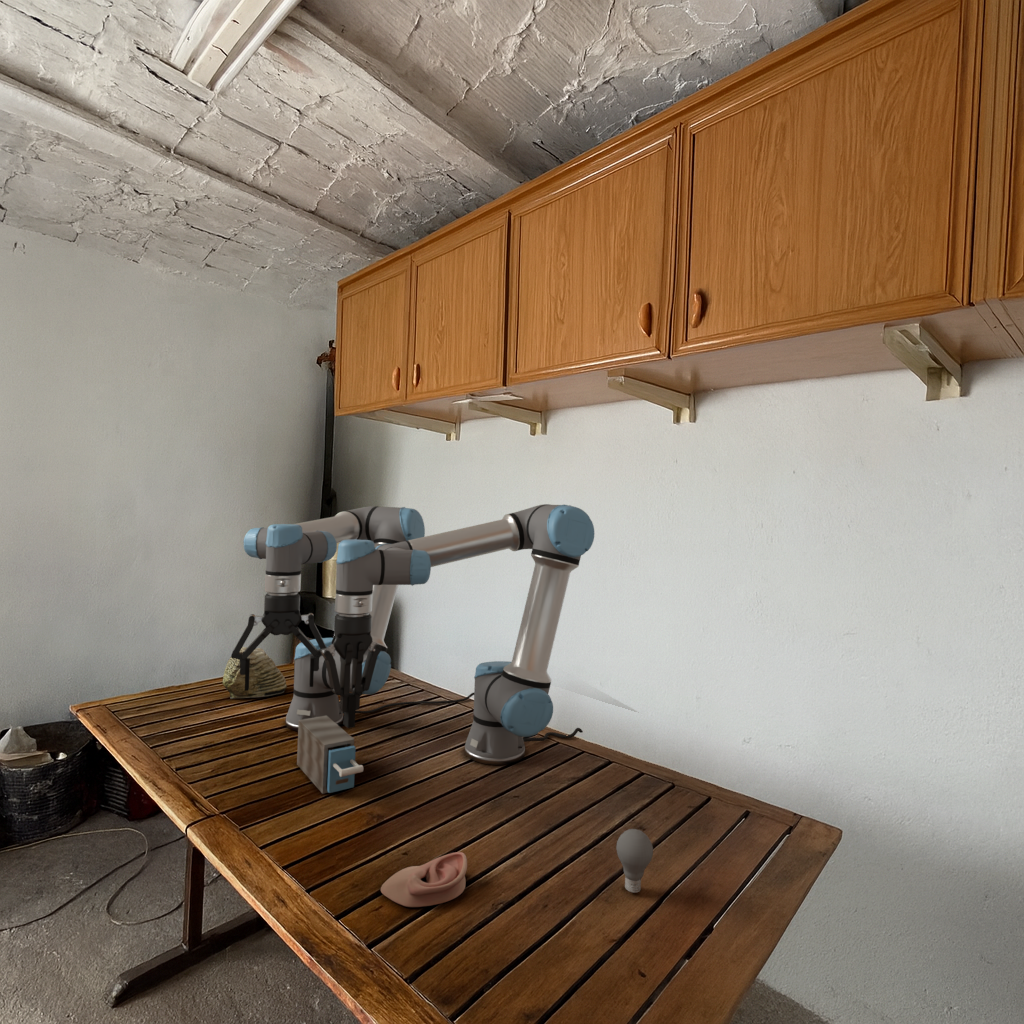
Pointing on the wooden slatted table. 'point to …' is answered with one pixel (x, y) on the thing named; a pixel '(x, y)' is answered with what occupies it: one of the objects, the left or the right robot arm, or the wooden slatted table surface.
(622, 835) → the light bulb
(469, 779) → the wooden slatted table surface
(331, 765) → the drawer
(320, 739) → the cabinet
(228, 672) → the fossil
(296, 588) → the left robot arm
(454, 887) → the anatomical model
